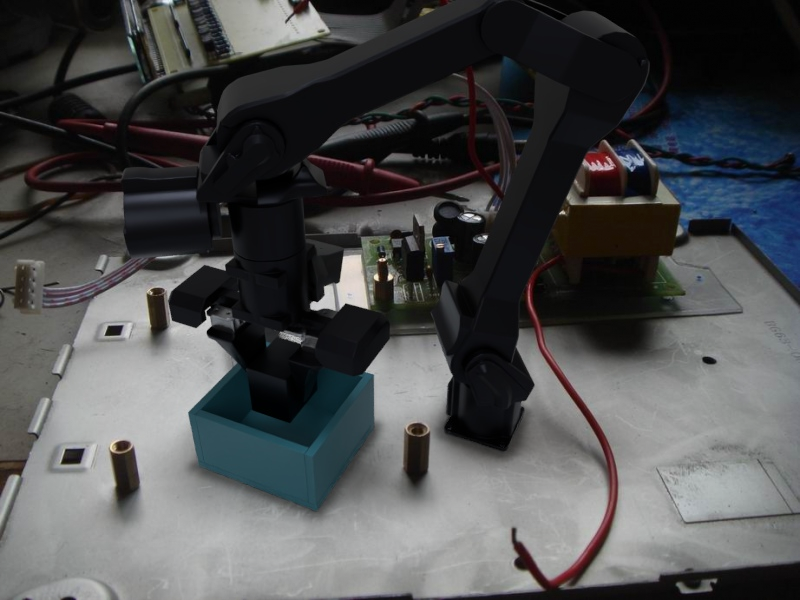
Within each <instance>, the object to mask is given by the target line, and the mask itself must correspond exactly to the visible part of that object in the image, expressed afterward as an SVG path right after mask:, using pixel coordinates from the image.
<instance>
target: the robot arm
mask: <svg viewBox="0 0 800 600" xmlns="http://www.w3.org/2000/svg"><path fill="white" fill-rule="evenodd" d="M497 55H501V56H503V57H506V58H508V59H510V60H513V61H515V62H517V63H519V64H521V65H523V66H525V67H527V68H528V69H531V70H533V71H535V72H536V75H535V80H534V95H533V97H534V101H533V122H532V126H531V128H530V132H529V134H528V136H527V138H526V140H525V141H526V142H525V144H524V145H523V149H522V152H521V153H520V155H519V158H518V160H517V163H516V166H515V168H514V171H513V173H512V176H511V178H510V181H509V183H508V185H507V188H506V189H505V193H504V195H503V197H502V200H501V202H500V205H499V207H498V210H497V212H496V215H495V216H494V220H493V222H492V224H491V227H490V229H489V232H488V233H487V237H486V238H485V242H484V244H483V247H482V249H481V252H480V254H479V256H478V259H477V260H476V263H475V265H474V268H473V270H472V272H471V273H470V274H469V275H468V276H466V277H465V278H464V279H462V280H461V281H460V282H459V283H456V282H453V281H451V280H448V279H445V280H444V282H443V283H442V286H441V291H440V292H441V293H440V296H439V300H438V301H437V303H436V305H435V306H434V307H433V308H432V309H431V310H430V315H431V318H432V320H433V323H434V331H435V333H436V336H437V339H438V342H439V344H440V348H441V350H442V353H443V355H444V358H445V361H446V364H447V367H448V370H449V372H450V374H451V375H452V376H451V378H450V379H449V382H448V383H447V389H446V405H445V406H446V407H445V414H446V416H448V419H447V421H446V422H445V424H444V426H443V431H444V433H445V434H447V435H450V436H453V437H456V438H460V439H462V440H465V441H468V442H472V443H475V444H478V445H481V446H484V447H487V448H489V449H493V450H496V451H500V452H507V451H508V449H509V448H510V445H511V442H512V440H513V439H514V436H515V434H516V432H517V429H518V427H519V425H520V424H521V421H522V418H523V416H524V415H525V407H524V406H523V405H522V402H526V401H527V400H528V398H529V396H530V395H531V393H532V391H533V390H534V388H535V382H534V380H533V378H532V375H531V374H530V371H529V370H528V367H527V366H526V363H525V362H524V359H523V358H522V356H521V353H520V352H519V349H518V347H517V345H518V342H519V338H520V313H521V312H520V310H521V301H522V300H521V299H522V296H523V294H524V292H525V290H526V289H527V286H528V283H529V281H530V279H531V278H532V274H533V272H534V271H535V268H536V266H537V263H538V261H539V259H540V257H541V255H542V252H543V251H544V248H545V246H546V244H547V242H548V240H549V237H550V235H551V233H552V231H553V228H554V226H555V224H556V222H557V220H558V218H559V216H560V214H561V211H562V209H563V206H564V204H565V202H566V201H567V198H568V195H569V194H570V192H571V189H572V186H573V185H574V182H575V180H576V179H577V176H578V174H579V172H580V170H581V167H582V165H583V163H584V161H585V158H586V157H587V155H588V153H589V152H590V150H591V149H592V147H594V146H595V145H596V144H598V143H599V142H600V141H601V140H602V139H603V138H605V137H606V136H607V135H608V134H610V133H611V132H612V131H613V130H615V129H616V128H617V127H618V126H619V125H620V124H621V122H622V121H623V120H624V118H625V116H626V115H627V113H628V111H629V110H630V109H631V107H632V106H633V104H634V103H635V101H636V99H637V98H638V97H639V95H640V93H641V92H642V90H643V88H644V87H645V85H646V82H647V80H648V77H649V74H650V68H651V67H650V66H651V62H650V60H649V58H648V54H647V51H646V48H645V46H644V45H643V43H642V42H641V41H640V40H639V38H637V37H636V36H634V35H633V34H632V33H630V32H628V31H627V30H625V29H624V28H623V27H620V26H618V25H617V24H616V23H614V22H612V20H609V19H608V18H606V17H604V16H603V15H601V14H599V13H597V12H595V11H590V10H581V11H576V12H572V13H570V14H568V15H567V14H566V13H563V12H561V11H559V10H556V9H555V8H552V7H550V6H547V5H545V4H543V3H541V2H538V1H535V0H453V1H451V2H449V3H446V4H445V5H442V6H440V7H438V8H436V9H434V10H432V11H429V12H427V13H425V14H422V15H420V16H418V17H416V18H414V19H412V20H410V21H408V22H406V23H404V24H401V25H399V26H396V27H395V28H392V29H391V30H388V31H386V32H384V33H382V34H379V35H377V36H375V37H373V38H371V39H369V40H366V41H364V42H362V43H360V44H358V45H355V46H353V47H351V48H349V49H347V50H345V51H343V52H340V53H338V54H336V55H334V56H332V57H329V58H328V59H325V60H320V61H317V62H312V63H307V64H306V63H305V64H295V65H282V66H278V67H274V68H270V69H267V70H262V71H259V72H256V73H251V74H248V75H244V76H242V77H238V78H236V79H235V80H234V81H232V82H230V83H229V84H228V85H227V86H226V87H225V89H224V90H223V91H222V94H221V95H220V99H219V103H218V104H217V105H218V106H217V114H216V127H215V128H214V130H213V131H212V133H211V135H210V136H209V137H208V139H207V140H206V142H205V144H204V145H203V146H202V148H201V150H200V152H199V159H198V160H199V161H198V165H189V166H174V167H158V168H157V167H155V168H152V167H146V166H133V167H125V168H124V170H123V171H122V176H121V179H120V184H121V189H122V197H123V198H122V200H123V201H122V207H123V208H122V209H123V219H124V226H123V228H122V229H123V231H122V233H123V238H124V242H125V246H126V250H127V252H128V255H129V256H130V258H131V259H132V260H139V259H150V258H165V257H176V256H188V255H200V254H209V253H210V251H214V250H215V245H214V240H222V239H223V222H222V211H221V204H226V205H227V206H226V207H227V213H228V219H229V227H230V233H231V235H230V236H231V242H232V249H233V257H232V258H231V259H230V260H229V261H227V262H226V263H225V264H224V269H222V268H218V267H214V266H211V265H206V264H204V265H202V266H201V267H200V268H199V269H197V270H196V271H195V272H193V273H192V274H191V275H190V276H188V277H187V278H186V279H184V280H183V281H182V282H181V283H179V284H178V285H177V286H176V287H174V288H173V289H171V291H170V294H169V296H168V299H167V304H168V307H169V314H170V318H171V321H172V322H174V323H178V324H181V325H184V326H187V327H191V328H194V329H198V328H200V326H202V324H204V322H206V321H207V317H209V319H210V324H211V325H210V326H209V328H208V329H207V330H206V336H207V337H208V339H211V340H213V341H214V342H216V343H217V344H218V345H219V346H220V347H221V348H222V349H223V350H224V351H225V352H226V353H227V354H228V355H229V356H230V357H231V359H232V358H233V359H234V360H235V361H236V362H237V363H238V364H239V365H240V366H241V367H242V368H243V370H244V371H245V372H246V373H247V367H248V366H249V365H250V364H251V363H252V362H253V361H254V360H255V359H256V358H257V357H258V356H259V355H260V354H261V353H262V352H263V350H264V349H265V348H266V347H267V345H266V336H265V327H266V328H269V329H273V330H276V331H280V333H282V334H286V335H290V336H294V337H296V338H300V344H301V345H300V346H299V347H298V348H297V349H296V351H295V352H294V353H293V354H292V355H291V356H290V357H289V358H288V363H289V367H290V371H291V374H292V377H293V381H294V385H295V388H296V392H297V394H298V396H299V399H300V401H302V402H305V401H306V400H307V399H308V397H309V396H310V394H311V391H312V389H313V386H314V383H315V381H316V378H317V375H318V373H319V370H321V369H323V368H324V367H325V368H327V369H330V370H333V371H337V372H340V373H343V374H347V375H350V376H353V377H354V376H358V375H362V374H363V373H364V372H366V371H367V369H368V368H370V366H371V364H372V363H373V362H374V361H375V359H376V358H377V357H378V355H379V354H380V352H381V351H382V350H383V348H384V347H385V346H386V345H387V343H388V342H389V341H390V339H391V323H390V321H389V318H388V316H387V315H386V314H384V313H383V312H380V311H376V310H373V309H369V308H365V307H362V306H359V305H354V304H351V303H347V302H345V303H344V304H343V306H342V307H341V308H340V309H339V310H334V309H332V308H327V307H323V308H320V309H318V310H316V309H312V308H311V304H312V303H313V302H315V303H319V302H320V301H321V300H322V299H323V298H324V297H325V287H327V286H330V285H332V284H337V285H338V284H339V283H340V282H341V276H342V269H343V262H344V261H343V260H344V253H345V248H344V247H342V246H340V245H335V244H331V243H327V242H323V241H320V240H319V241H318V240H316V239H315V240H314V239H312V238H311V239H310V238H306V225H305V211H304V199H305V198H317V197H318V198H319V197H325V196H326V195H327V194H328V186H327V182H326V177H325V173H324V170H323V169H321V168H320V167H318V166H316V165H315V164H314V163H311V162H310V161H309V159H308V158H309V157H310V156H312V155H313V154H315V153H317V151H318V150H320V149H321V147H322V146H323V145H325V144H326V143H327V141H328V140H330V138H332V137H333V135H334V134H335V133H336V132H337V131H338V130H339V129H341V128H343V127H344V126H345V125H348V124H349V123H350V122H352V121H353V120H355V119H357V118H360V117H362V116H364V115H366V114H368V113H371V112H372V111H375V110H378V109H379V108H381V107H383V106H386V105H388V104H390V103H392V102H395V101H397V100H399V99H401V98H404V97H405V96H408V95H410V94H412V93H415V92H417V91H419V90H421V89H423V88H426V87H428V86H430V85H433V84H434V83H436V82H439V81H441V80H444V79H446V78H447V77H449V76H452V75H454V74H456V73H459V72H461V71H463V70H465V69H467V68H470V67H472V66H474V65H476V64H479V63H481V62H483V61H486V60H487V59H490V58H492V57H494V56H497ZM238 291H239V292H238Z"/></svg>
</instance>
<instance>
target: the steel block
mask: <svg viewBox="0 0 800 600" xmlns="http://www.w3.org/2000/svg"><path fill="white" fill-rule="evenodd" d="M300 345H301V342H300V343H299V342H297V341H294V340H290V339H287V338H284V337H280V336H279V337H276V338H275V339H274V340H273V341H272V342H271V343H270V344H269V345H268V346H267V347H266V348H265V349H264V350H263V352H262V353H261V354H260V355H259V356H258V357H257V358H256V359H255V360H254V361H253V362H252V363H251V364H250V365H249V366H248V367H247V376H248V383H249V391H250V398H251V405H252V410H253V411H255V412H258V413H261V414H264V415H267V416H270V417H273V418H276V419H279V420H282V421H285V422H287V423H291V422H292V420H293V419H294V418H295V417H296V416H297V414H298V413H299V412H300V411H301V409H302V408H303V407H304V406H305V404H306V403H307V402H308V401H309V400H310V398H311V397H312V396H313V395H314V393H315V392H316V391H317V390H318V388H317V378H316V381H315V383H314V386H313V389H312V391H311V394H310V396H309V397H308V399H307V400H306V401H305V402H302V401H300V399H299V396H298V394H297V392H296V388H295V385H294V381H293V377H292V374H291V371H290V367H289V363H288V358H289V357H290V356H291V355H292V354H293V353H294V352H295V351H296V349H297V348H298V347H299V346H300Z"/></svg>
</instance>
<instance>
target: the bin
mask: <svg viewBox="0 0 800 600" xmlns="http://www.w3.org/2000/svg"><path fill="white" fill-rule="evenodd" d="M269 344H270V343H269V342H266V345H267V346H268V345H269ZM317 388H318V390H317V391H316V392H315V393H314V395H313V396H312V397H311V398H310V400H309V401H308V402H307V403H306V404H305V406H304V407H303V408H302V409H301V411H300V412H299V413H298V414H297V416H296V417H295V418H294V419H293V420H292V422H291V423H287V422H285V421H282V420H279V419H276V418H273V417H270V416H267V415H264V414H261V413H258V412H255V411H253V410H252V405H251V398H250V391H249V383H248V376H247V373H246V372H245V371H244V370H243V368H242V367H241V366H240V365H239V364H238V363H237V364H236V365H235V366H234V367H233V366H232V368H230V369H229V371H228V372H226V374H225V375H224V376H223V377H221V378H220V379H219V381H218V382H217V383H216V384H215V385H214V386H213V387H212V388H211V389H210V390H208V392H207V393H205V395H204V396H202V397H201V399H199V401H198V402H197V403H196V404H194V406H192V408H190V409H189V411H187V414H188V419H189V426H190V429H191V434H192V439H193V445H194V448H195V454H196V460H197V465H198V467H200V468H203V469H205V470H208V471H212V472H213V473H216V474H219V475H222V476H224V477H227V478H229V479H231V480H234V481H237V482H239V483H241V484H245V485H248V486H250V487H253V488H254V489H258V490H261V491H263V492H266V493H268V494H271V495H274V496H276V497H279V498H280V499H284V500H286V501H289V502H292V503H294V504H296V505H299V506H302V507H305V508H307V509H310V510H312V511H315V512H317V511H318V510H319V509H320V507H321V506H322V504H323V503H324V502H325V499H327V497H328V496H329V494H330V493H331V491H332V490H333V488H334V487H335V485H336V484H337V482H338V481H339V479H340V478H341V476H343V474H344V472H345V471H346V469H347V468H348V466H349V464H350V463H351V462H352V460H353V459H354V457H355V456H356V455H357V453H358V451H359V450H360V449H361V447H362V446H363V444H364V443H365V441H366V440H367V438H368V437H369V436H370V435H371V432H372V431H373V430H374V428H375V374H374V373H371V372H366V371H365V372H364V373H363V374H362V375H358V376H354V377H353V376H350V375H347V374H343V373H340V372H337V371H333V370H330V369H327V368H325V367H324V368H323V369H321V370H319V373H318V375H317Z"/></svg>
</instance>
